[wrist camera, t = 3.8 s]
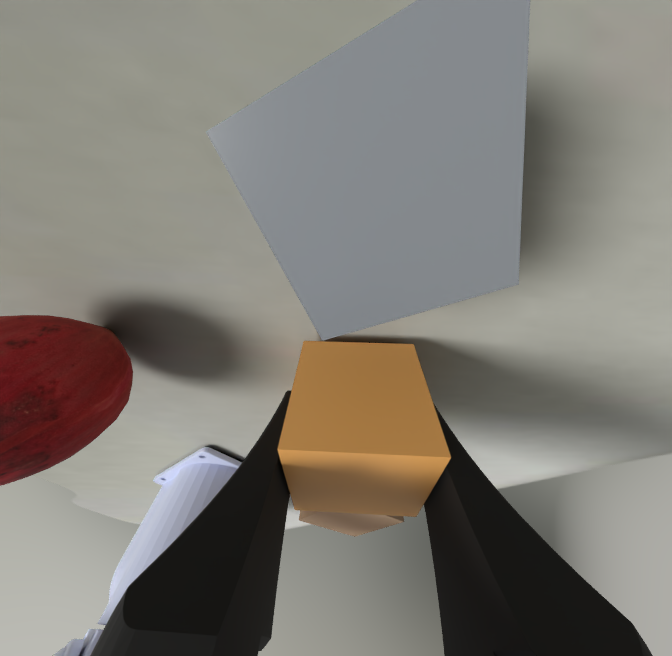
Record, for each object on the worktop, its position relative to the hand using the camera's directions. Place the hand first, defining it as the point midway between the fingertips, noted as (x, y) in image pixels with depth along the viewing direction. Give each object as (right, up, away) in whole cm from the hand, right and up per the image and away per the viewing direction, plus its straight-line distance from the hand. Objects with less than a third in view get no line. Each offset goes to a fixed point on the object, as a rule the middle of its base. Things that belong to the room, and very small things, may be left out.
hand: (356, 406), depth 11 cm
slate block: (0, +8, -3) cm, 9 cm away
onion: (-12, +4, +1) cm, 13 cm away
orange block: (0, +1, +1) cm, 2 cm away
